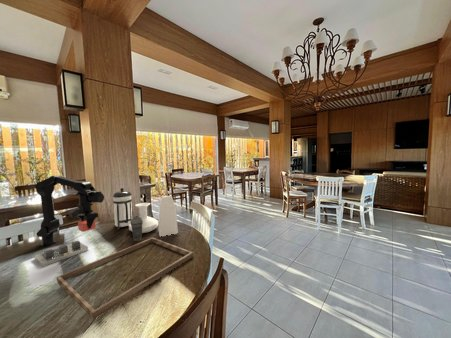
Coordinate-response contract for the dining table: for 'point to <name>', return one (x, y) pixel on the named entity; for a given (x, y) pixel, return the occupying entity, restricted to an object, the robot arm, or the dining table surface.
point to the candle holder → (145, 219)
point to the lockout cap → (85, 226)
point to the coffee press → (122, 208)
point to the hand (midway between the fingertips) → (86, 227)
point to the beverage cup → (136, 227)
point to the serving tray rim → (128, 293)
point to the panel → (60, 255)
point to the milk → (167, 217)
